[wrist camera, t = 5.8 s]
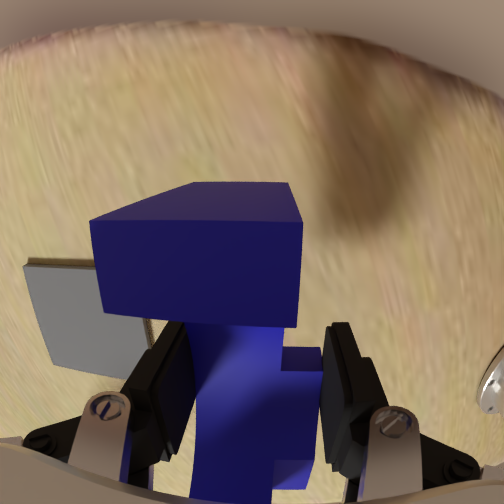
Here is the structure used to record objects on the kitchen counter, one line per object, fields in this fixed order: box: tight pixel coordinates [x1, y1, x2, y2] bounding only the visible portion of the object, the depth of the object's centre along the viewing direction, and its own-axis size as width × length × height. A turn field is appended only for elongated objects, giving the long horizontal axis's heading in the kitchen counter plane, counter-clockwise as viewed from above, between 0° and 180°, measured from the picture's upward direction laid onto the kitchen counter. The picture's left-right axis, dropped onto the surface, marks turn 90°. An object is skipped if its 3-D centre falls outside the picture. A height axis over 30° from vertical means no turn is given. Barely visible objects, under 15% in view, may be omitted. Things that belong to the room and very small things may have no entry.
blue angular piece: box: [89, 182, 323, 504], centre depth 9 cm, size 12×4×6 cm, turn 0°
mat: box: [23, 264, 152, 380], centre depth 22 cm, size 11×10×1 cm
